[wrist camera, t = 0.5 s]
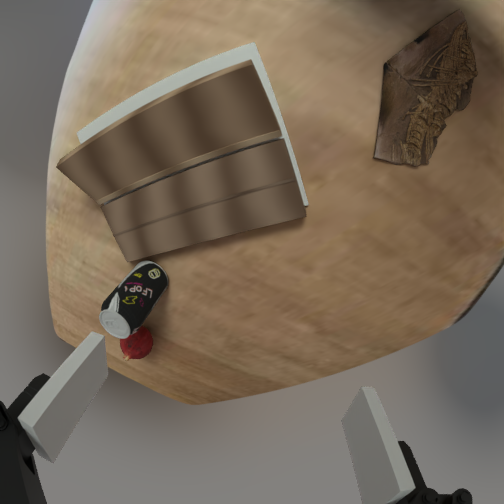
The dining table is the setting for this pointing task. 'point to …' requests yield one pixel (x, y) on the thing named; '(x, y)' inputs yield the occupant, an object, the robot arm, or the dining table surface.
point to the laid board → (208, 202)
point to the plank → (174, 133)
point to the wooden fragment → (424, 91)
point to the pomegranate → (137, 344)
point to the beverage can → (133, 299)
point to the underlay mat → (184, 78)
